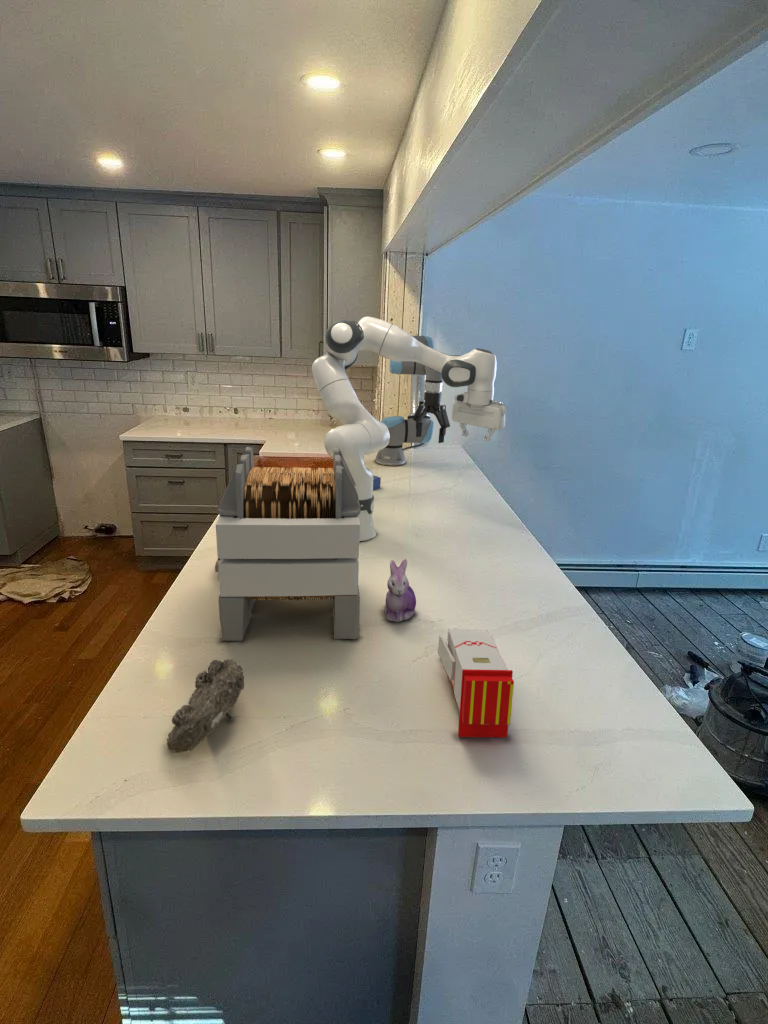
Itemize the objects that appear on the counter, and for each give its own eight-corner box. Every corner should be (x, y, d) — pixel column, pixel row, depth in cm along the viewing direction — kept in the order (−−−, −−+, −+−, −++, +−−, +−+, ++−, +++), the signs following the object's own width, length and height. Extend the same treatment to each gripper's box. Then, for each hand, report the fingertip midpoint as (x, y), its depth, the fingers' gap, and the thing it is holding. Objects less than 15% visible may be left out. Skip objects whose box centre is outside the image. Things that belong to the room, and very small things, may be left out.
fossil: (192, 660, 117) (244, 628, 112) (224, 691, 120) (276, 661, 115) (142, 746, 98) (202, 712, 93) (182, 779, 101) (242, 748, 96)
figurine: (392, 627, 141) (395, 572, 136) (374, 608, 149) (376, 556, 144) (425, 619, 145) (429, 566, 140) (405, 601, 154) (408, 550, 149)
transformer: (238, 577, 163) (231, 438, 149) (351, 576, 167) (355, 440, 153) (218, 643, 131) (207, 474, 117) (359, 640, 135) (365, 475, 121)
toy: (488, 613, 130) (523, 677, 101) (484, 667, 133) (517, 744, 104) (435, 612, 130) (455, 676, 101) (432, 666, 133) (451, 743, 103)
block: (372, 490, 246) (373, 479, 245) (365, 487, 249) (365, 477, 248) (380, 488, 249) (380, 477, 248) (372, 485, 252) (373, 475, 251)
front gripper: (511, 401, 188) (506, 442, 193) (461, 393, 201) (458, 432, 206) (500, 403, 184) (496, 445, 188) (450, 395, 197) (447, 434, 202)
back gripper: (460, 395, 241) (456, 444, 249) (418, 387, 258) (415, 433, 266) (449, 396, 237) (445, 446, 244) (406, 388, 253) (404, 435, 261)
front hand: (475, 438), depth 197 cm, fingers open, 8 cm apart
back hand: (429, 439), depth 255 cm, fingers open, 13 cm apart
